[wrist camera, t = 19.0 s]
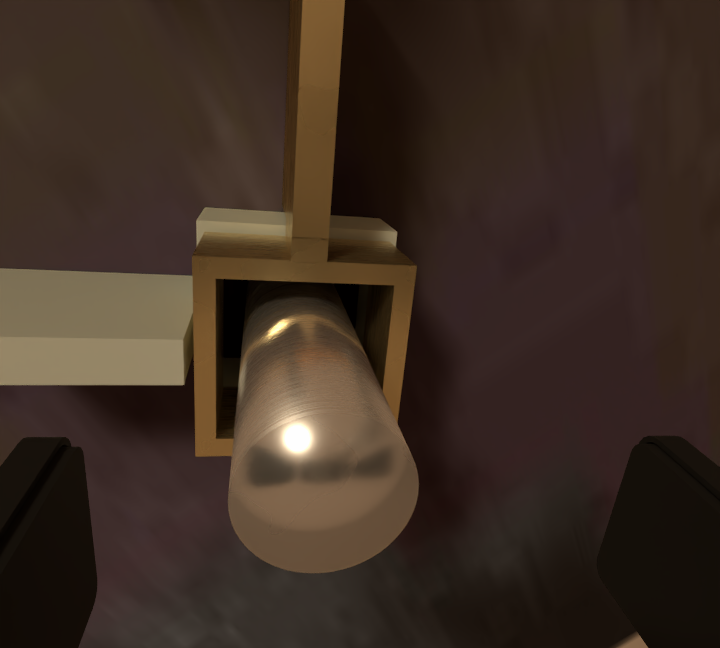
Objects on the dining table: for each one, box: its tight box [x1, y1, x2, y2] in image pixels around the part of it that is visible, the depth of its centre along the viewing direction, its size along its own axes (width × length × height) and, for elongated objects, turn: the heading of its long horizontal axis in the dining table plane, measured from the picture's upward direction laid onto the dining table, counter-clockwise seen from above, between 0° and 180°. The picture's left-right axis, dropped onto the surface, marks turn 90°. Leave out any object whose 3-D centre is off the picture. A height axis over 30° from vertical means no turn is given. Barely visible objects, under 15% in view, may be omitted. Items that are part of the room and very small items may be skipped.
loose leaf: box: [0, 207, 397, 387], centre depth 18 cm, size 15×7×7 cm, turn 85°
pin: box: [228, 280, 419, 573], centre depth 16 cm, size 4×4×13 cm
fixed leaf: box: [192, 0, 417, 456], centre depth 17 cm, size 6×16×7 cm, turn 175°
